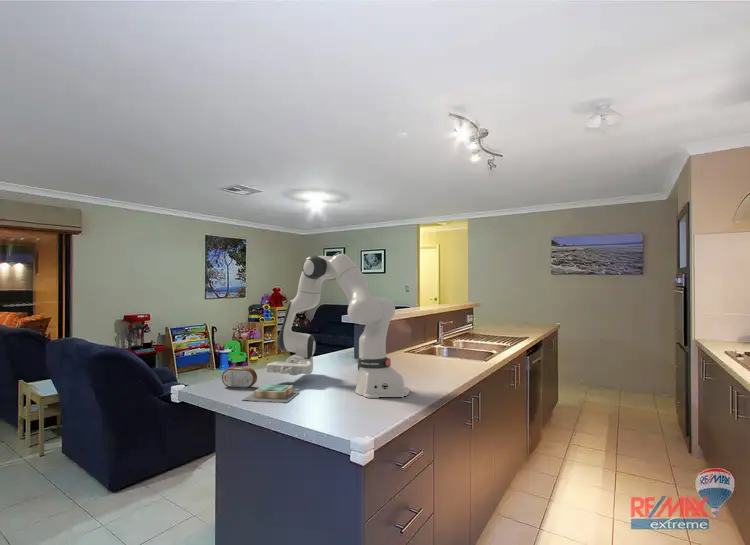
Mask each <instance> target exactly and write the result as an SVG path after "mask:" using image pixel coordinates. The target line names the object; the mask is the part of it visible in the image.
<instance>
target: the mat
mask: <svg viewBox="0 0 750 545" xmlns="http://www.w3.org/2000/svg"><path fill="white" fill-rule="evenodd" d="M299 394H300V392H298V391H293V392H292V393H290V394H289V395H288V396H286V397H285V398H284V399H276V398H256V397H254V392H252V393H250V394H249V395H248V396H246V397H245V398H243V399H242V400H250V401H249V402H257V401H272V402H271V403H276V402H286V403H285V404H288V403H289V402H290V401H291V400H293V399H294V398H295V397H296V396H298V395H299ZM292 398H293V399H292ZM287 402H288V403H287Z"/></svg>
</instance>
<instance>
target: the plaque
mask: <svg viewBox="0 0 750 545" xmlns="http://www.w3.org/2000/svg"><path fill="white" fill-rule="evenodd" d="M292 392H294V385H292V384H290V385H289V384H267V383H266V384H265V383H264V385H262V386H260V387H259V388H257V389H255V390H254V391H253V393H254V397H256V398H276V399H284V398H285V397H286V396H288V395H289V394H290V393H292Z"/></svg>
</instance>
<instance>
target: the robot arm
mask: <svg viewBox="0 0 750 545" xmlns="http://www.w3.org/2000/svg"><path fill="white" fill-rule="evenodd" d="M332 280H333V281H334V280H336V283H337V284H338V285H339V287H340V288H341V290H342V291H343V293H344V294H345V296H346V299H347V301H348V306H347V316H348V319H349V320H350V321H351V322H352V323H354V324H358V325H361V326H362V325H363V326H365V327H364V329H363V332H362V334H360V336H359V339H358V358H357V371H358V372H357V373H358V374H357V383H356V386H355V390H354V392H355V394H357V395H360V396H364V398H366V397H367V398H366V399H373V398H374V399H380V398H379V397H402V398H405V397H404V396H406V397H408V396H409V395H410V393H411V392H410V387H408V386H406V385H405V380H404V377H403V375H402V374H401V373H400V372H398V371H397V370H396V369H395V368H393V367H392V366H391V358H390V357H387V356H386V350H387V348H386V346H387V342H386V341H387V334H388V329H389V326H390V322H391V320H392V318H393V317H394V316H395V313H396V306H395V304H394V302H393V300H391V299H390V298H387V297H384V296H372V295H371V293H370V291H369V289H368V288H369V281H368V280H367V278H366V277H365V275H364V274H363V272H362V271H361V269H360V268H359V267H358V266H357V264H356V263H355V262H354V261H353V259H351V258H350V257H349V256H348V255H347V254H345V253H339V254H336V255H334V256H327V255H311V256H308V257H306V258H305V260H304V261H303V263H302V272H301V274H300V278H299V281H298V287H297V292H296V296H295V297H294V298H292V299H290V301H289V303H288V305H287V307H286V311H285V315H284V319H283V322H282V325H281V328H280V332H279V333H278V336H277V340H276V345H277V348H278V349H279V350H280V351H281V352H291V353H295V354H293V355H290V356H289V357H288V358H286V360H285V361H272V362H269V363H267V364H266V372H267V373H272V374H273V373H274V374H275V373H277V374H282V375H283V374H284V375H287V374H289V375H291V376H298V375H309V374H312V373H313V370H314V360H313V359H314V355H315V354H316V351H317V350H316V349H317V341H316V339H315V337H314V335H312V334H309V333H305V332H304V333H302V332H298V331H297V332H296V331H293V329H292V326H293V324H294V322H295V317H296V314H298V313H300V312H304V311H308V310H312V309H313V308H315V307H316V306H318V305H319V303H320V302H321V296H322V290H323V289H322V288H323V283H324V282H325V281H332ZM409 392H410V393H409ZM408 394H409V395H408ZM407 395H408V396H407Z"/></svg>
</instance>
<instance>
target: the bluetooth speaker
mask: <svg viewBox="0 0 750 545" xmlns="http://www.w3.org/2000/svg"><path fill="white" fill-rule="evenodd" d="M221 380H222V384H223V385H224V386H226V387H228V388H234V387H249V388H251V387H252V386H254V385H255V384H256V383H257V380H258V376H257V372H256V371H255V370H254V369H253V368H251V367H242V366H240V367H239V366H237V367H236V366H230V367H228V368H226V369H225V370H224V371H223V372H222V374H221Z"/></svg>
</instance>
